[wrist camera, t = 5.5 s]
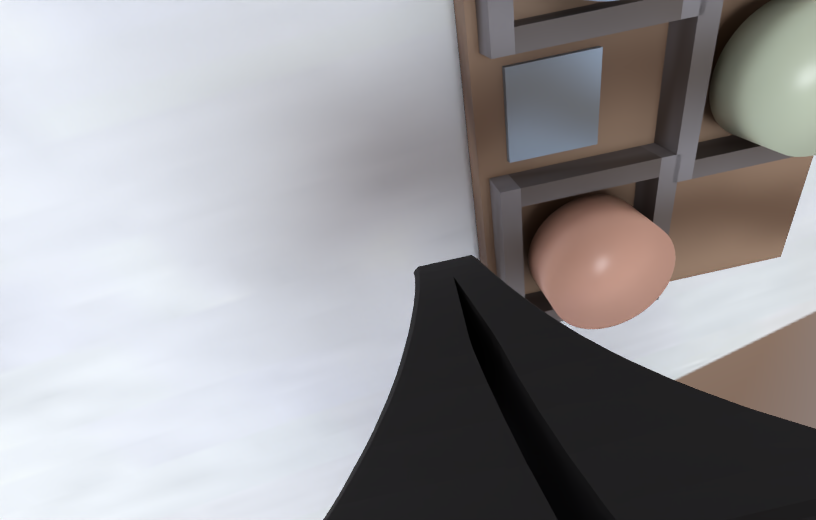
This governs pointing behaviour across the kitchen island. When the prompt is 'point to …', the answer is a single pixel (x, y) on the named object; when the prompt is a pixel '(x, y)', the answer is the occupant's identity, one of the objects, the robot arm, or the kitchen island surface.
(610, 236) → the button terracotta
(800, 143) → the button sage
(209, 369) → the kitchen island surface
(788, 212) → the panel
